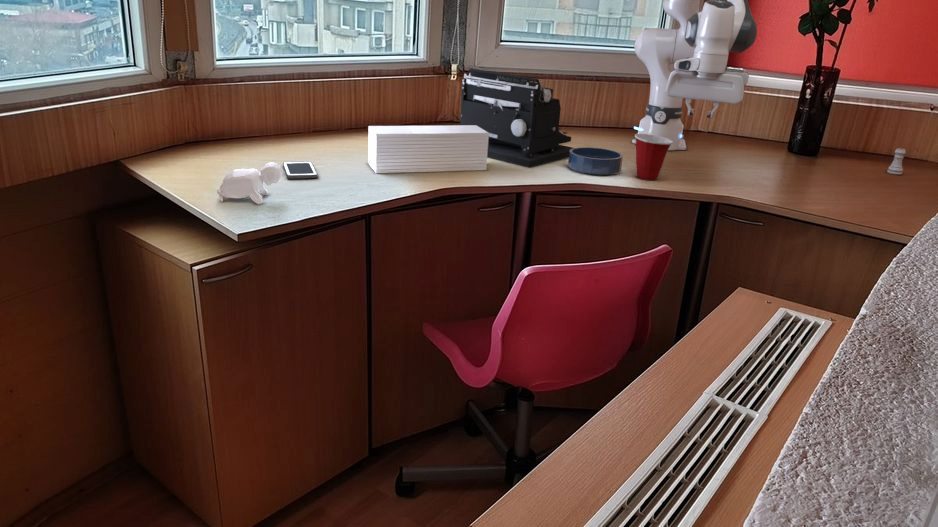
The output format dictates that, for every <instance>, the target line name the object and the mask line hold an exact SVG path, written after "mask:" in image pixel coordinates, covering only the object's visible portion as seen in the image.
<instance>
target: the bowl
mask: <svg viewBox="0 0 938 527" xmlns="http://www.w3.org/2000/svg"><path fill="white" fill-rule="evenodd" d="M567 159H568V160H567V167H568V168H569V169H571V170H574V171H575V172H577V173H581V174H586V175H592V176H609V175H610V176H611V175H615V174H619V173H620V172H621V171H622V166H623V159H624V155H623V153H621V152H619V151H616V150H614V149H608V148H602V147H594V146H580V147H573V149H570V150H569V158H567Z"/></svg>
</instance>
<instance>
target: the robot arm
mask: <svg viewBox="0 0 938 527" xmlns="http://www.w3.org/2000/svg"><path fill="white" fill-rule="evenodd" d="M700 1H701V0H663V4H662V7H663V10H664V13H665V14H666V15H668V16H669V17H670V18H672V19H674V20H675V21H676V22H678V24H679V28H676V29H674V28H663V27H654V28H645V29H642V30H641V31H640V32H639V33H638V34H637V36H636V38H635V40H634V44H633V45H634V46H633V47H634V52H635V55H636V57H637V58H638V59H639V60H640V61H641V62H642V63H643V64H644V66H645V68H646V69H647V71H648V75H649V79H650V87H649V88H650V89H649V97H648V103H647V104H646V107H645V116H644V117H642V118H641V119H640V120H639V125H638V127H637V126H633V129H634V130H637V134H650V135H656V136H661V137H664V138H667V139H670V140H672V141H673V143H672V144H671V145H670V147H669V149H668V151H686V150H687V144H686V140H685V139H684V137H685V136H684V134H683V132H684V131H683V130H684V127H685V126H684V124H683V122H682V119H681V118H682V116H683V100H684V99H685V105H686V108H687V116H688V117H694V115H695V111H696V110H695V108H692V104H691V103H692V102H693V100H696V101H704V102H705V101H706V102H713V103H712V105H713V108H712V110H708V111H707V115H706V119H712V120H713V118H714V114H715V112H716V110H717V109H718V108H719V106H720V105H721V104H722V103H723V104H731V105H740V104H741V103H743V101H744V96H745V86H746V85H747V84H748V82H749V78H750V74H749V72H748V71H747V70H746V69H745V68H743V67H733V66H727V65H728V60H729V54H730V53H736V54H742V53H744V52H746V51H747V50H749V49H750V48H751V47H752V46H753V45H754V44H755V43H756V42H755V41H756V40H757V34H758V27H757V22H756V19H755V18H754V15H753V13H752V11H751V7H750V5H749V1H748V0H707V1H705V2H704V3H703V6H702V10H701V11H700V3H701V2H700ZM669 65H673V66H674V67H673V68H674V69H673V71H671V70H670V68H669ZM720 103H721V104H720ZM631 143H632V144H634V145H636V138H633V139H631Z"/></svg>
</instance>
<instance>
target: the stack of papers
mask: <svg viewBox="0 0 938 527" xmlns="http://www.w3.org/2000/svg"><path fill="white" fill-rule="evenodd" d="M367 129H368V134H367V135H368V137H367V138H368V140H367V141H368V142H367V143H368V144H367V145H368V146H367V149H368V150H367V151H368V152H367V154H368V155H367V156H368V157H367V163H368V164H367V165H369V167H370V168H371V169H372V170H373V171H374V172H375V174H393V173H395V174H398V173H432V172H433V173H435V172H464V171H468V172H469V171H470V172H471V171H487V167H488V157H487V153H488V147H487V146H488V139H489V137H488V136H489V133H488V132H487V131H485V130H483V129H482V128H480V127H478V126H477V125H460V124H459V125H458V124H457V125H455V124H454V125H450V124H449V125H368V127H367Z"/></svg>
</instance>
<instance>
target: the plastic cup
mask: <svg viewBox="0 0 938 527" xmlns="http://www.w3.org/2000/svg"><path fill="white" fill-rule="evenodd" d="M634 139H636V144H635V165H636V166H635V167H636V177H637V179H640V180H644V181H656V180H658V177H659V176H660V172H661V170H662V167H663V164H664V161H665V158H666V155H667V153H668V152H669V150H668V149H669V147H670V145H671V144H672V143H673V141H672V140H670V139H667V138H664V137H661V136H656V135H650V134H638V133H635V134H634Z"/></svg>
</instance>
